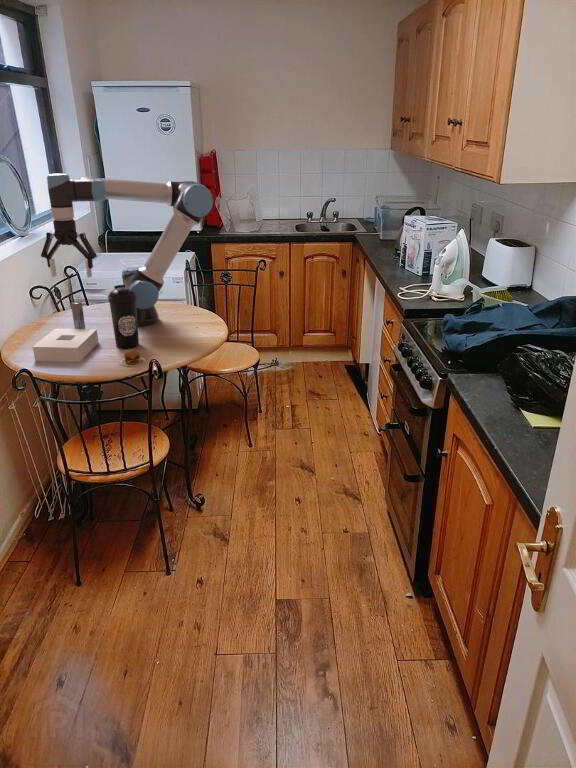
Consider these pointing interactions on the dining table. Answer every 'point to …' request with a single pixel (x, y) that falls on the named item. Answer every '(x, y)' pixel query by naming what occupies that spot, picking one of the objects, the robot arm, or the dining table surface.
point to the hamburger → (132, 357)
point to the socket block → (66, 345)
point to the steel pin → (78, 315)
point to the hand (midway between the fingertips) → (71, 276)
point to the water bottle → (124, 317)
